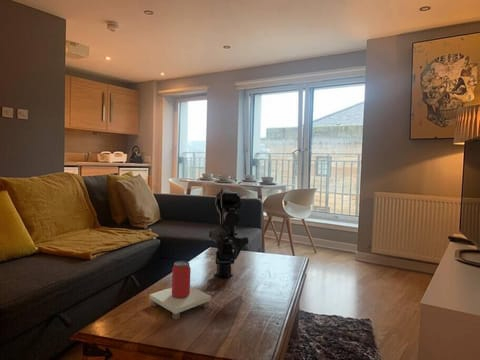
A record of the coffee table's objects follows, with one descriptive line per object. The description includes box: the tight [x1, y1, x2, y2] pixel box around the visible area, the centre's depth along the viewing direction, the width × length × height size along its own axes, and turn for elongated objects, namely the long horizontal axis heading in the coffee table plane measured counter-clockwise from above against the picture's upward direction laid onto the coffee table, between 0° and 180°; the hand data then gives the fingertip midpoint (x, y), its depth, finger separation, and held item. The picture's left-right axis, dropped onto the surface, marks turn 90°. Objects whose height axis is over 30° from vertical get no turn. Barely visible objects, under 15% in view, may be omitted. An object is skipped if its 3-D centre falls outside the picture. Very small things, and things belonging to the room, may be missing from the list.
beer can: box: [171, 260, 192, 298], centre depth 121 cm, size 7×7×12 cm
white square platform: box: [148, 285, 212, 320], centre depth 122 cm, size 16×16×4 cm
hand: (227, 256), depth 141 cm, fingers open, 9 cm apart
